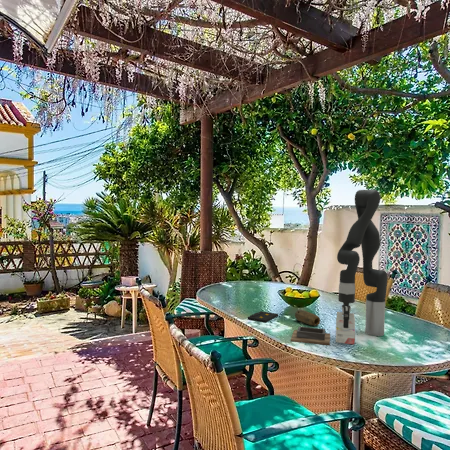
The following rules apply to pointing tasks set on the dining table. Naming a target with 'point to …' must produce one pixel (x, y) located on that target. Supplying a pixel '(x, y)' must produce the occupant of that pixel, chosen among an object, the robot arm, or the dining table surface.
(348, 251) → the robot arm
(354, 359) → the dining table surface
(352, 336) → the ink cartridge box
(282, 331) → the dining table surface
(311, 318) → the brown cylinder
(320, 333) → the dock
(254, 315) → the cassette tape
